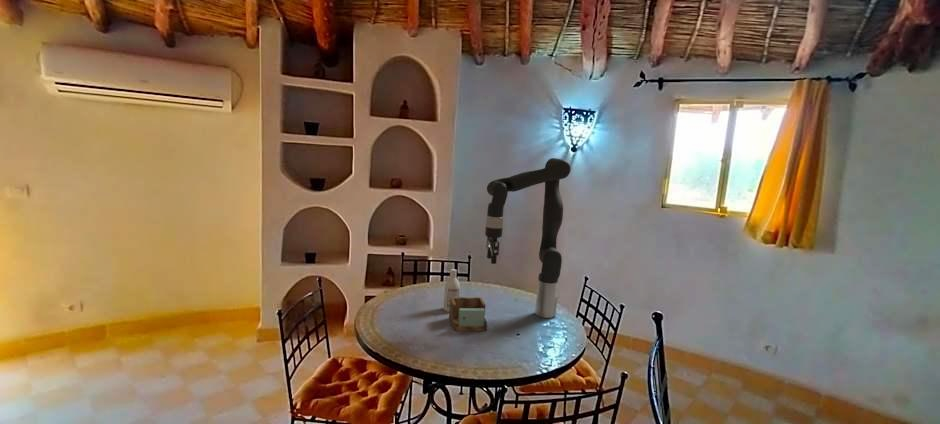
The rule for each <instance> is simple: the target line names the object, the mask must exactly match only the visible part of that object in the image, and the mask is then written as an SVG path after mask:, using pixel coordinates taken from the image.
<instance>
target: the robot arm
mask: <svg viewBox="0 0 940 424" xmlns="http://www.w3.org/2000/svg"><path fill="white" fill-rule="evenodd" d="M571 169H572V168H571V164H570V163H569V161H567V160H565V159H561V158H555V157H551V158H549V159H547V161H546V163H545V165H544V168H540V169H536V170H535V169H534V170H529V171H525V172H521V173H520V172H519V173H518V174H514V175H511V176H508V177H502V178H498V179H494V180H492V181H490V182H489V183H488V184H487V186H486V192H487V194H488V195H490V196H492V198H491V202H489V203H488V205H487V215H486V221H485V229H484V230H485V231H484V232H485V233H484V236H486V245H485V246H486V250H487V252H486V253H487V254H486V258H487V259H489V260H490V263H491V265H496V264H497V257H498V256H499V255H500V253H499V251H500V242H499V241H498V238H499V239H500V238H502V236H503V228H504V227H503V226H504V224H503V223H504V207H505V204H506V201H507V198H508V193H509V192H512V193H513V192H519V191H520V190H524V189H527V188H529V187H532V186H536V185H539V184H543V183H544V197H543V198H544V199H543V211H542V225H541V227H542V228H541V230H542V231H541V242H540V246H539V253H538V259H539V260H540V263H541V265H542V266H541V272H540V273H539V274H538V279H537V291H536V299H535V308H534V309H535V310H534V314H535V316H536V317H540V318H542V319H543V318H545V319H551V318H553V317H554V318H555V317H556V315H557V307H558V296H557V292H558V282H559V278H560V276H561V270H562V262H563V257H562V254H561V252H560V251H559V250H558V249H557V239H558V238H557V237H558V234H559V231H560V229H561V226H562V224H563V220H564V219H563V217H564V203H563V199H562V196H561V192H560V191H561V190H560V180H564V179H566V178H567V177H569V175H570V174H571Z"/></svg>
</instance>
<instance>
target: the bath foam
mask: <svg viewBox="0 0 940 424" xmlns="http://www.w3.org/2000/svg"><path fill="white" fill-rule="evenodd" d="M449 271H450V273H449V277H448V279H447V280H446V282H445V285H444V298H443V311H445V312H448V313H449V311H450V297H460V290H461V289H460V288H461V287H460V286H461V285H460V282H459V280H458V278H457V269H455V268H451V269H450V270H449Z"/></svg>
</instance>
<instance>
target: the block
mask: <svg viewBox="0 0 940 424" xmlns="http://www.w3.org/2000/svg"><path fill="white" fill-rule="evenodd" d="M484 317H486V309H485V310H484V308H459V318H458V327H469V326H484Z"/></svg>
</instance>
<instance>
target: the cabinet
mask: <svg viewBox="0 0 940 424" xmlns="http://www.w3.org/2000/svg"><path fill="white" fill-rule="evenodd" d="M486 307H487V306H486V303H485V301H484V299H483V297H470V296H469V297H467V296H466V297H463V296H462V297H460V296H459V297H450V311H449V312H448V313H449V315H448V319H449V322H450V325H451V328H452V331H453V332H477V331H478V332H486V331H487V329H488V328H487V326H488V322H487V319H486V318H485V317H486V316H485V317H484V326H469V327H458V318H459V308H484V310H485V311H486Z"/></svg>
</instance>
